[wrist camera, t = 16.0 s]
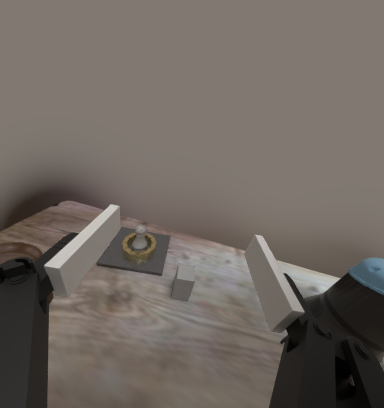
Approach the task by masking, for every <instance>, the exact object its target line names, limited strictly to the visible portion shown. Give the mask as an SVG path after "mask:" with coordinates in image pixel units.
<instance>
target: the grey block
mask: <svg viewBox="0 0 384 408" xmlns="http://www.w3.org/2000/svg"><path fill="white" fill-rule="evenodd" d="M194 283H195V266H192V265H186V264H181V263H179V264H178V268H177V271H176V275H175V279H174V282H173V289H172V296H171V299H175V300H182V301H188V298H189V296H190V293H191V290H192V288H193V285H194Z"/></svg>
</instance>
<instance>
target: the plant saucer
mask: <svg viewBox="0 0 384 408" xmlns="http://www.w3.org/2000/svg"><path fill="white" fill-rule="evenodd" d="M43 254H44V253H43V251H42V250H41V249H40V248H39V247H37V246H35V245H33V244H30V243H24V242H6V243H0V264H2V263H4V262H6V261H8V260H10V259H13V258H18V257H29V258H30V259H32V261H33V262H35V261H36V260H37V259H38V258H39V257H41V256H42V255H43Z"/></svg>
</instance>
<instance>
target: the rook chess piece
mask: <svg viewBox="0 0 384 408" xmlns="http://www.w3.org/2000/svg"><path fill="white" fill-rule="evenodd" d="M146 231H147V229H146V226H145V225H143V226H142V224H140V226H139V225H137V227H136V228H135V232H136V233H135V234H136V238H135V240H134V241H133V243H132V249H133V250H134V251H136V252H142V251H144V250H145V249H146V248H147V241H146V240H145V234H146V233H145V232H146Z"/></svg>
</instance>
